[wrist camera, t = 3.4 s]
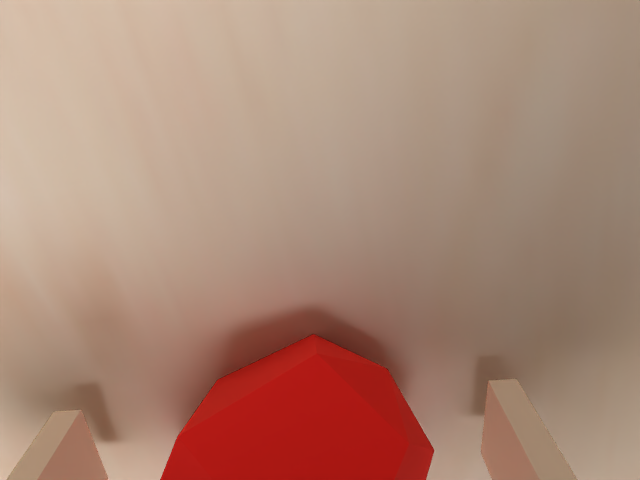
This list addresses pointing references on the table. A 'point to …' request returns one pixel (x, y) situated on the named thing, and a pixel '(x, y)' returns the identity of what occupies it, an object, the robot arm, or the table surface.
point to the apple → (303, 422)
